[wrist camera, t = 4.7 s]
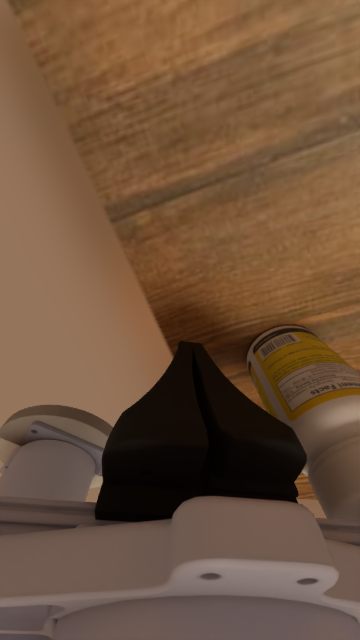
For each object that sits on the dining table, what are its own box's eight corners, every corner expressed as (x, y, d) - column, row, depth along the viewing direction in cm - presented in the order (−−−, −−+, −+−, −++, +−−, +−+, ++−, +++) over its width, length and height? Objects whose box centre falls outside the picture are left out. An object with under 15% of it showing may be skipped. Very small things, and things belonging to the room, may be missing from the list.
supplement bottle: (296, 386, 15) (408, 551, 8) (235, 375, 15) (291, 539, 7) (331, 330, 13) (533, 484, 6) (261, 315, 13) (380, 462, 5)
